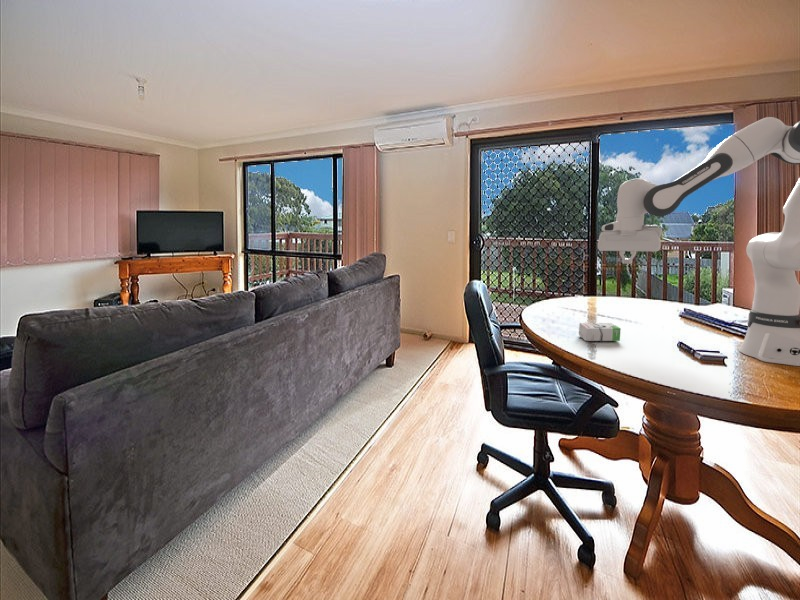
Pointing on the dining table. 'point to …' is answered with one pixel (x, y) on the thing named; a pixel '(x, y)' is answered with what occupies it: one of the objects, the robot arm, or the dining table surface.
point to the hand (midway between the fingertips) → (627, 263)
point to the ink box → (599, 332)
